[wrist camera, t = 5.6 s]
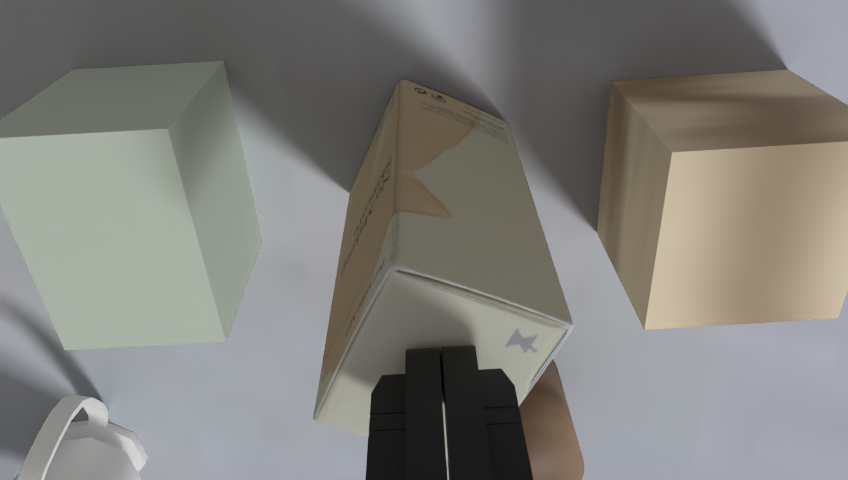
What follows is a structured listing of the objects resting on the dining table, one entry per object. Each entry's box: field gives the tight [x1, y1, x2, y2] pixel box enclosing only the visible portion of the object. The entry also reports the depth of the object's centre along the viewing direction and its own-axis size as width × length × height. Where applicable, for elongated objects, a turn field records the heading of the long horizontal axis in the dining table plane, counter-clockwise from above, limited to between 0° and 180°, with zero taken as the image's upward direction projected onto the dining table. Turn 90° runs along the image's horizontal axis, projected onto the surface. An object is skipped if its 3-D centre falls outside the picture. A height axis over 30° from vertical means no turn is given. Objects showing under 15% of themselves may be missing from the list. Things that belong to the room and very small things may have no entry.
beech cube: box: [597, 70, 848, 330], centre depth 21 cm, size 6×6×6 cm
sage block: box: [0, 61, 262, 350], centre depth 21 cm, size 5×7×6 cm
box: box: [313, 79, 573, 462], centre depth 19 cm, size 5×4×11 cm
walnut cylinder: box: [519, 359, 584, 480], centre depth 27 cm, size 5×5×5 cm
